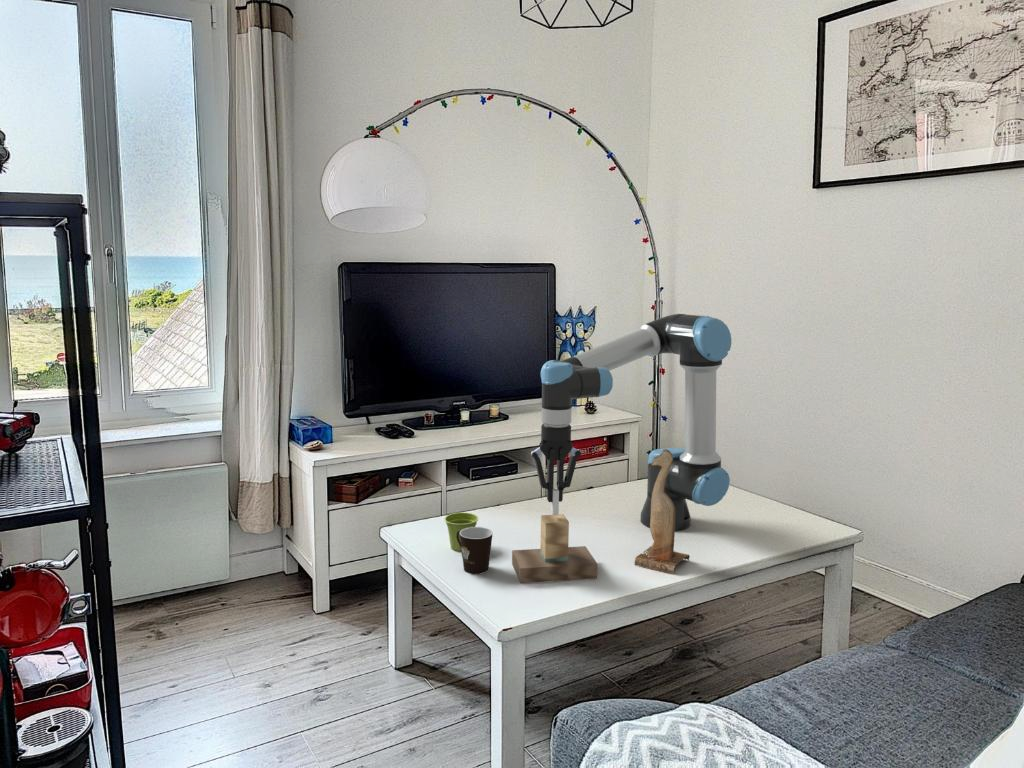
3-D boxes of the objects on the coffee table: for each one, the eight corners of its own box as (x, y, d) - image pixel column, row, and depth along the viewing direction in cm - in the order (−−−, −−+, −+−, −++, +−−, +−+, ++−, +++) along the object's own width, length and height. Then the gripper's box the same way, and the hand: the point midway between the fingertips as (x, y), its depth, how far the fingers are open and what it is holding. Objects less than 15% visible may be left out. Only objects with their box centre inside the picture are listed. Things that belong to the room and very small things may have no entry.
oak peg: (562, 564, 208) (563, 514, 205) (568, 574, 202) (569, 522, 200) (540, 565, 207) (540, 515, 204) (544, 575, 201) (545, 523, 199)
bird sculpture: (649, 553, 218) (649, 441, 213) (690, 560, 212) (691, 445, 207) (634, 567, 209) (634, 450, 203) (676, 575, 203) (677, 455, 197)
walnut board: (585, 560, 212) (585, 546, 211) (597, 578, 200) (597, 563, 200) (512, 564, 209) (512, 550, 208) (520, 583, 197) (520, 568, 196)
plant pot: (474, 555, 215) (474, 524, 213) (440, 552, 217) (440, 522, 215) (481, 542, 224) (481, 513, 222) (449, 540, 226) (449, 511, 224)
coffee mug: (496, 573, 203) (496, 537, 201) (463, 577, 200) (463, 540, 199) (484, 556, 214) (485, 521, 212) (453, 560, 211) (453, 524, 210)
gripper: (577, 420, 202) (575, 507, 206) (528, 421, 200) (526, 509, 204) (585, 426, 195) (582, 517, 199) (533, 428, 193) (532, 519, 197)
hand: (554, 513), depth 202 cm, fingers closed
